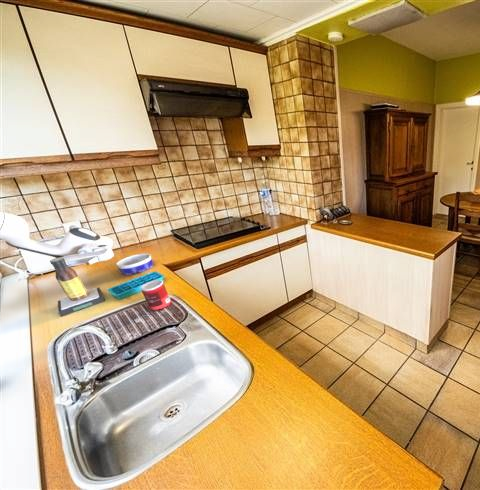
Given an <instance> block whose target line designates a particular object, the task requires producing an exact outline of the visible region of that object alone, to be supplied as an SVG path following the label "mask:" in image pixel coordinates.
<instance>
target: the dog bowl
mask: <svg viewBox="0 0 480 490" xmlns="http://www.w3.org/2000/svg"><path fill="white" fill-rule="evenodd" d="M154 265H155V263H154V261H153V258H152V256H151V254H150V253H139V254H134V255H130V256H128V257H124V258H122V259H120V260H118V261H117V262H116V263H115V266H116V268H117V269H118V272H119V273H120V275H122V276H134V275H137V274H141V273H144V272H146V271H148V270H150V269H152V268H153V267H154Z"/></svg>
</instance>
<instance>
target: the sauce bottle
mask: <svg viewBox="0 0 480 490" xmlns="http://www.w3.org/2000/svg"><path fill="white" fill-rule="evenodd" d="M49 262H50V264H51V265H52V267H53V269H54V271H55V279H56V281H57V283H58V284H59V286H60V287H61V289H62V291H63V292H64V293H65V295H66V297H68V298H69V299H70V300H72V301H74V300H79V299H82V298H84V297H86V296H87V295H88V292H87V290H88V289H87V288H86V286H85V285H84V283H83V281H82V279H81V278H80V277H79V275H78V273H77V272H76V270H75V269H73V268H72V267H71V266H70V267H68V265H67V264H66V262H65V260H64V258H63V257H59V258H55V257H54V258H53V259H50V260H49Z"/></svg>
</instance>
